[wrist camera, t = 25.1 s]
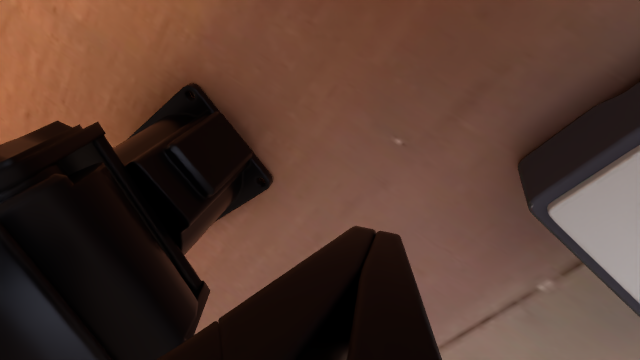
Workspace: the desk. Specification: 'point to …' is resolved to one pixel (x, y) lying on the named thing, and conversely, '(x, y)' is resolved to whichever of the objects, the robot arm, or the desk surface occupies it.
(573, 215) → the calculator
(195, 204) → the robot arm
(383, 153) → the desk surface
